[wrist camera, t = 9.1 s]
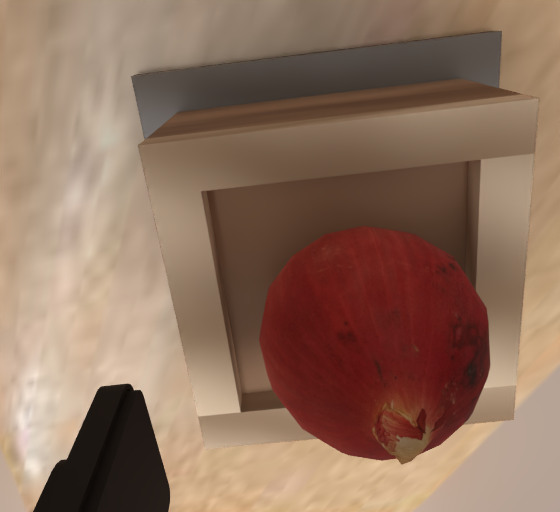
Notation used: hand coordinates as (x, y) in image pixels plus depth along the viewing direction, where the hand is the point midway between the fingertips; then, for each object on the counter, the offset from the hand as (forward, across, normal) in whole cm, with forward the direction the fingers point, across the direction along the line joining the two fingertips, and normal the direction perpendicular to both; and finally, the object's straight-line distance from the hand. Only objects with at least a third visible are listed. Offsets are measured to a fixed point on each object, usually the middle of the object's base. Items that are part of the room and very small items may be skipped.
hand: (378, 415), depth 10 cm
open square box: (+14, 0, +1) cm, 14 cm away
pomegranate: (+7, 0, +1) cm, 7 cm away
